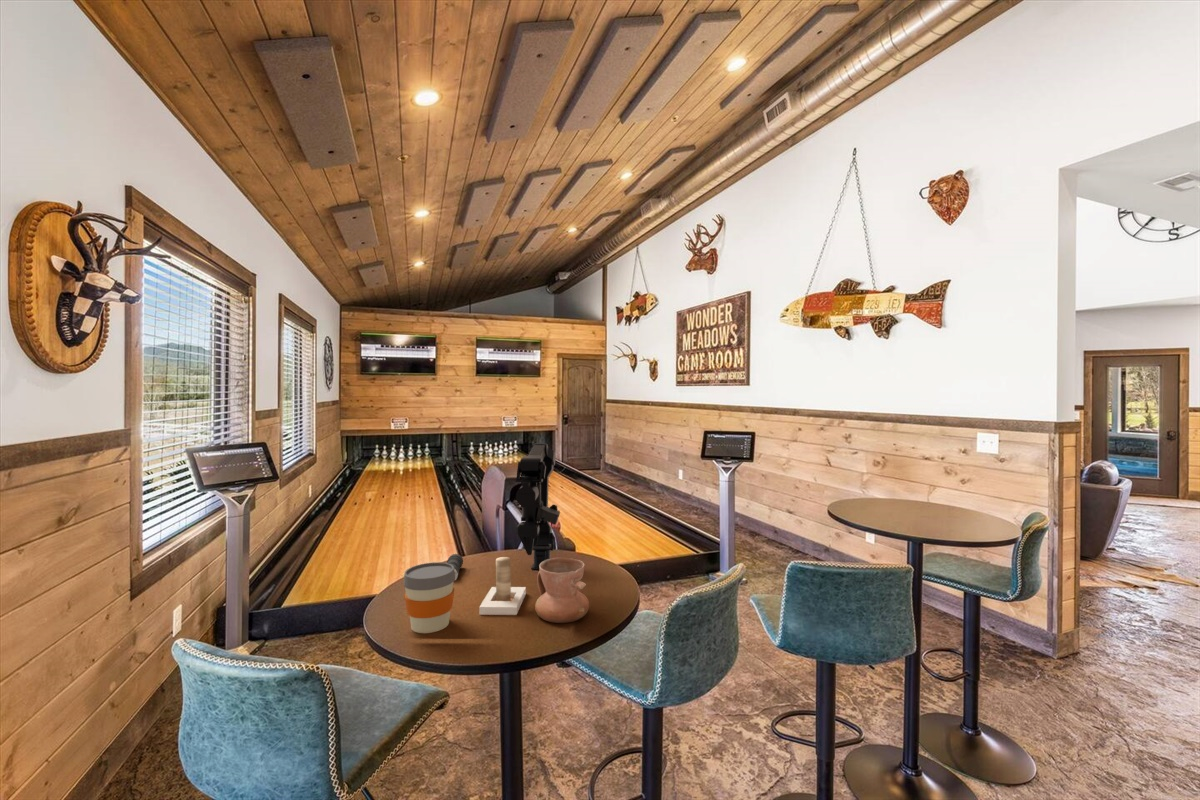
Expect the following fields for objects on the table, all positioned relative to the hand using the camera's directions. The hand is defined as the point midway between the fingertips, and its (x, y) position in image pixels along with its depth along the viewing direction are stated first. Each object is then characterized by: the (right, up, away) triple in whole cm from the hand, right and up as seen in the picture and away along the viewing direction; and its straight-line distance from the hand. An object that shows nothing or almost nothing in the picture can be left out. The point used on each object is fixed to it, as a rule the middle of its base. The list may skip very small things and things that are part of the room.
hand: (532, 550), depth 157 cm
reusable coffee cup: (-23, -13, -25) cm, 36 cm away
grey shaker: (-28, -12, +13) cm, 33 cm away
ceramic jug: (+10, -13, -18) cm, 25 cm away
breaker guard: (-6, -12, -13) cm, 19 cm away
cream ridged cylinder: (-6, -11, -13) cm, 18 cm away
